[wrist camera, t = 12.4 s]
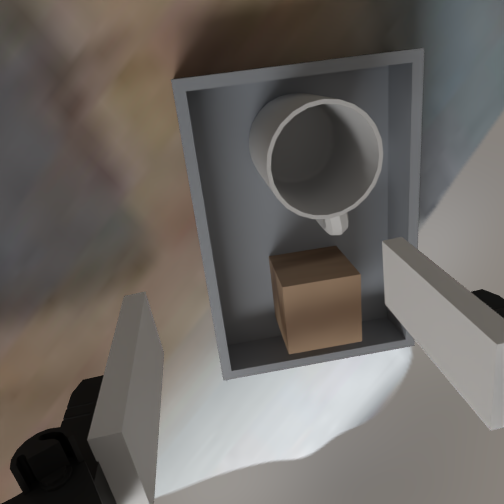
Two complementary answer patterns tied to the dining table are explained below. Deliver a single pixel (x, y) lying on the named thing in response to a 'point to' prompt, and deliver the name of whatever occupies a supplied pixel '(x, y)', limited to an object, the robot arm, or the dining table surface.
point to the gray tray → (282, 219)
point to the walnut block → (316, 299)
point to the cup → (317, 156)
